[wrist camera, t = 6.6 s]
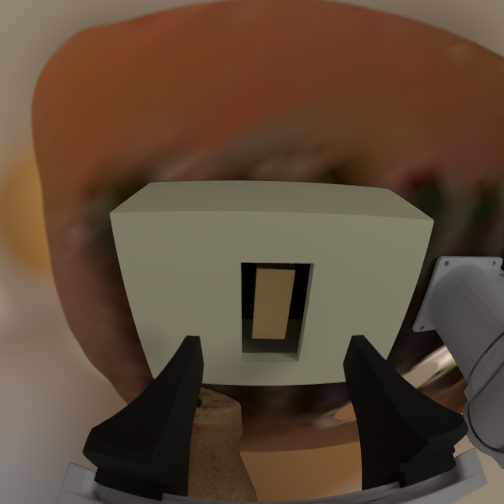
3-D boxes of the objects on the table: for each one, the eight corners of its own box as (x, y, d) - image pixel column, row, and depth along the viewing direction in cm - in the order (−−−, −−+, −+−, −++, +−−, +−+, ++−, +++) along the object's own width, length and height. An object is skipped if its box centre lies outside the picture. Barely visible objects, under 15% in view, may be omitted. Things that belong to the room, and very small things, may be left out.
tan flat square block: (286, 232, 19) (295, 270, 15) (279, 293, 21) (284, 339, 17) (256, 230, 19) (256, 268, 15) (252, 292, 21) (252, 338, 17)
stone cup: (255, 440, 33) (254, 534, 20) (171, 433, 33) (156, 523, 20) (265, 382, 27) (268, 522, 13) (150, 371, 26) (114, 500, 13)
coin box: (387, 188, 18) (433, 220, 12) (357, 325, 23) (377, 377, 18) (150, 182, 18) (109, 213, 12) (171, 324, 23) (153, 378, 18)
